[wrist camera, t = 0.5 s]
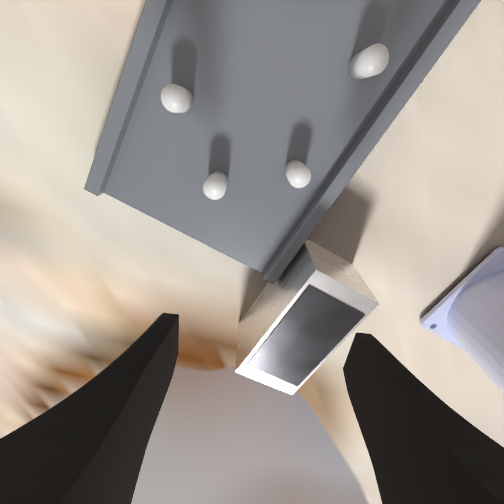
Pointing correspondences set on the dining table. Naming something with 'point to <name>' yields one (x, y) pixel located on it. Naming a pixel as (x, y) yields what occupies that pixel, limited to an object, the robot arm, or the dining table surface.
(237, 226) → the pin tray
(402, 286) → the dining table surface
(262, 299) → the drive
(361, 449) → the dining table surface
